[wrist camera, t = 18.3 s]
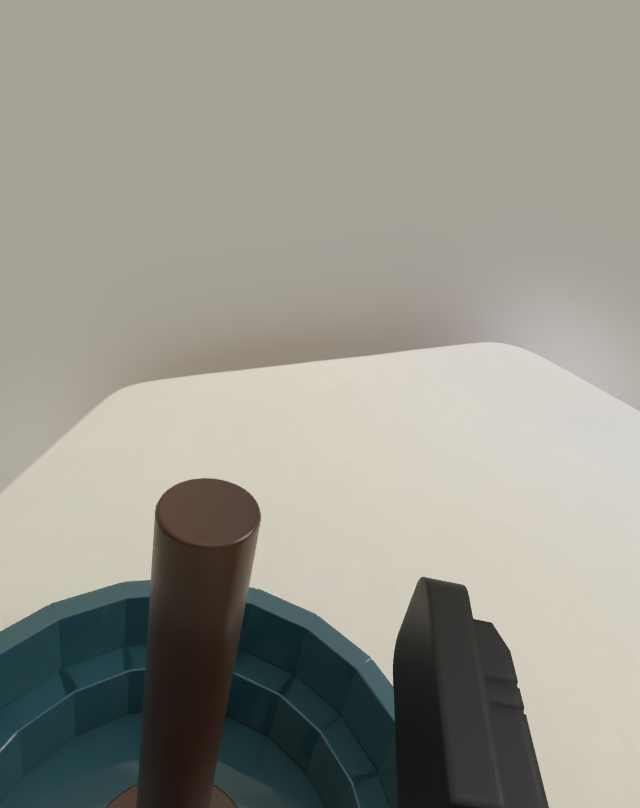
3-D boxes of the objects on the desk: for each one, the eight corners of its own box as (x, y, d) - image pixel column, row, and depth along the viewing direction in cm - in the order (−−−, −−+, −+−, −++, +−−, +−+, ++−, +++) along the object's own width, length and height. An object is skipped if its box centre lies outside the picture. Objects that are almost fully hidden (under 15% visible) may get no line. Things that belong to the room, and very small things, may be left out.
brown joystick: (62, 1049, 15) (27, 650, 7) (77, 828, 19) (65, 427, 11) (257, 990, 16) (394, 613, 9) (232, 798, 20) (311, 429, 13)
